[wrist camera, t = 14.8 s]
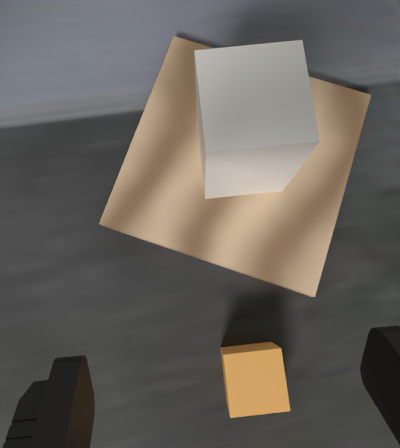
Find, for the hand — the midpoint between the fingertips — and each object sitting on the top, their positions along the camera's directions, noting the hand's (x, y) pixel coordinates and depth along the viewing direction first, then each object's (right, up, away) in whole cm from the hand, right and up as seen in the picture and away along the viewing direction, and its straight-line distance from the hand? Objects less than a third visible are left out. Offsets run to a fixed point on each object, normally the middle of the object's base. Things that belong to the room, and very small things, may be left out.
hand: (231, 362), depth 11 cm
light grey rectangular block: (+2, +9, +21) cm, 23 cm away
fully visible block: (+3, -8, +19) cm, 20 cm away
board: (+2, +9, +22) cm, 24 cm away
